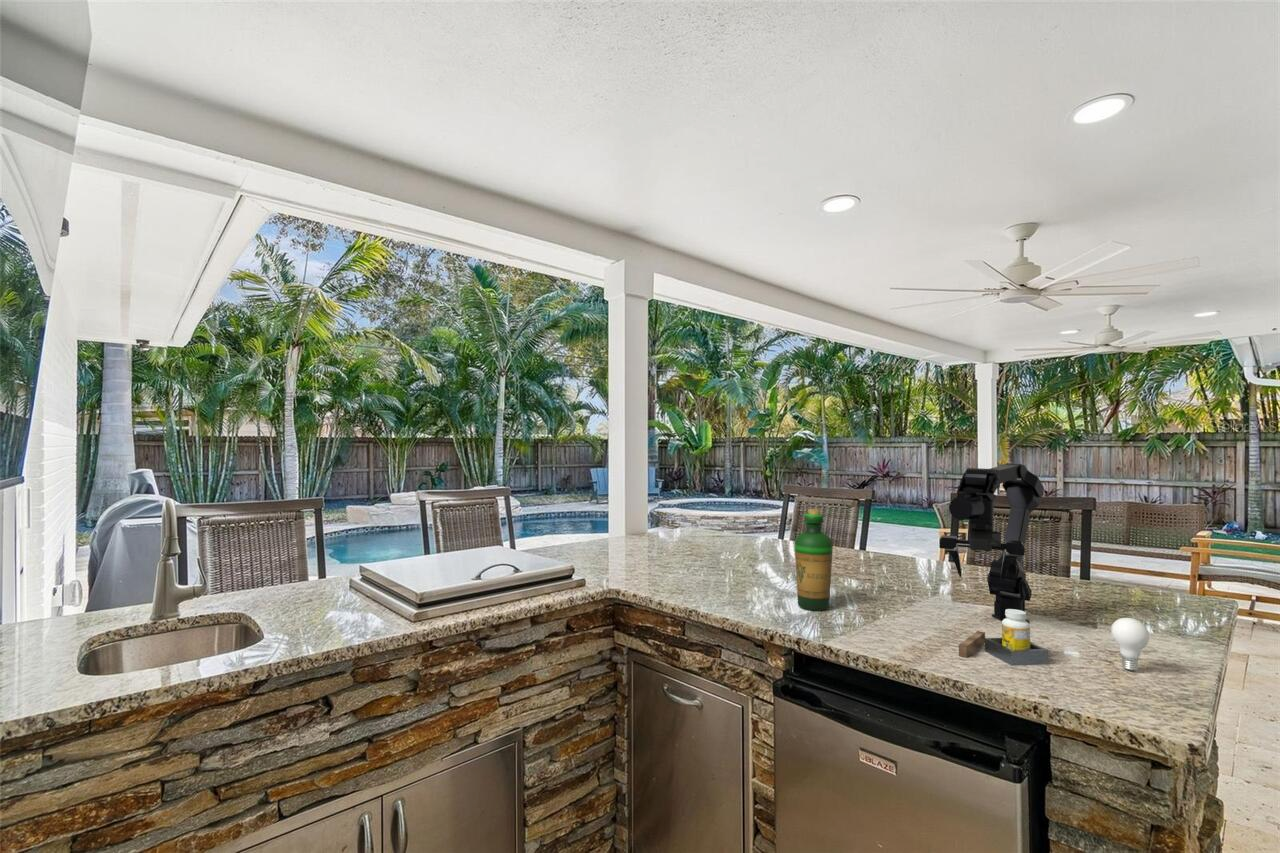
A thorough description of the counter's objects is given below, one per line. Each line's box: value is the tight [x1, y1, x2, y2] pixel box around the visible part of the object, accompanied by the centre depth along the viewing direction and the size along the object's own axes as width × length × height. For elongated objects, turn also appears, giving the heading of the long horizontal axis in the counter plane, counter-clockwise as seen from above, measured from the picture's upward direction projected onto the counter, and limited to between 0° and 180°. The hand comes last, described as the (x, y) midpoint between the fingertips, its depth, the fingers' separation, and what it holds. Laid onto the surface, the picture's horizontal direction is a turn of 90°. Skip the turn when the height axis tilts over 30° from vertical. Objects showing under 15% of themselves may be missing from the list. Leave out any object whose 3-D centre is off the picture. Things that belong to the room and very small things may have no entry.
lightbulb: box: [1110, 617, 1150, 672], centre depth 129 cm, size 6×6×11 cm
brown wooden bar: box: [958, 630, 986, 659], centre depth 141 cm, size 14×2×2 cm, turn 136°
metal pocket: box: [984, 637, 1050, 666], centre depth 136 cm, size 9×9×3 cm
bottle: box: [794, 508, 834, 612], centre depth 175 cm, size 11×11×28 cm
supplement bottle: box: [1001, 609, 1031, 650], centre depth 136 cm, size 5×5×10 cm
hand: (980, 578), depth 155 cm, fingers open, 9 cm apart
